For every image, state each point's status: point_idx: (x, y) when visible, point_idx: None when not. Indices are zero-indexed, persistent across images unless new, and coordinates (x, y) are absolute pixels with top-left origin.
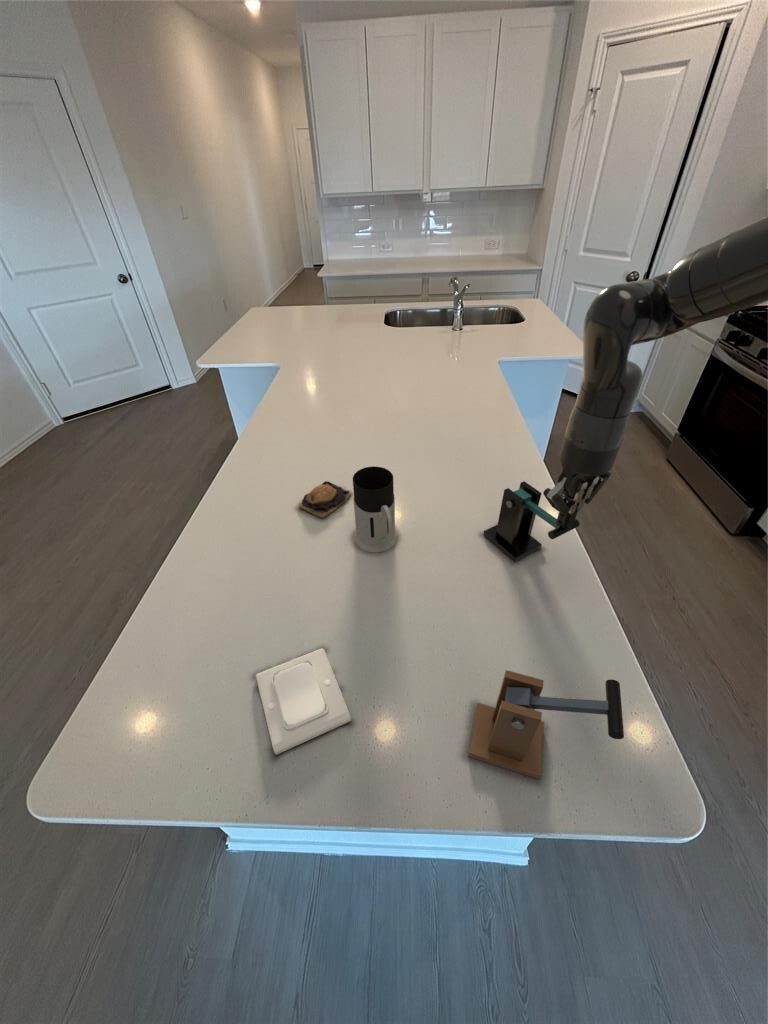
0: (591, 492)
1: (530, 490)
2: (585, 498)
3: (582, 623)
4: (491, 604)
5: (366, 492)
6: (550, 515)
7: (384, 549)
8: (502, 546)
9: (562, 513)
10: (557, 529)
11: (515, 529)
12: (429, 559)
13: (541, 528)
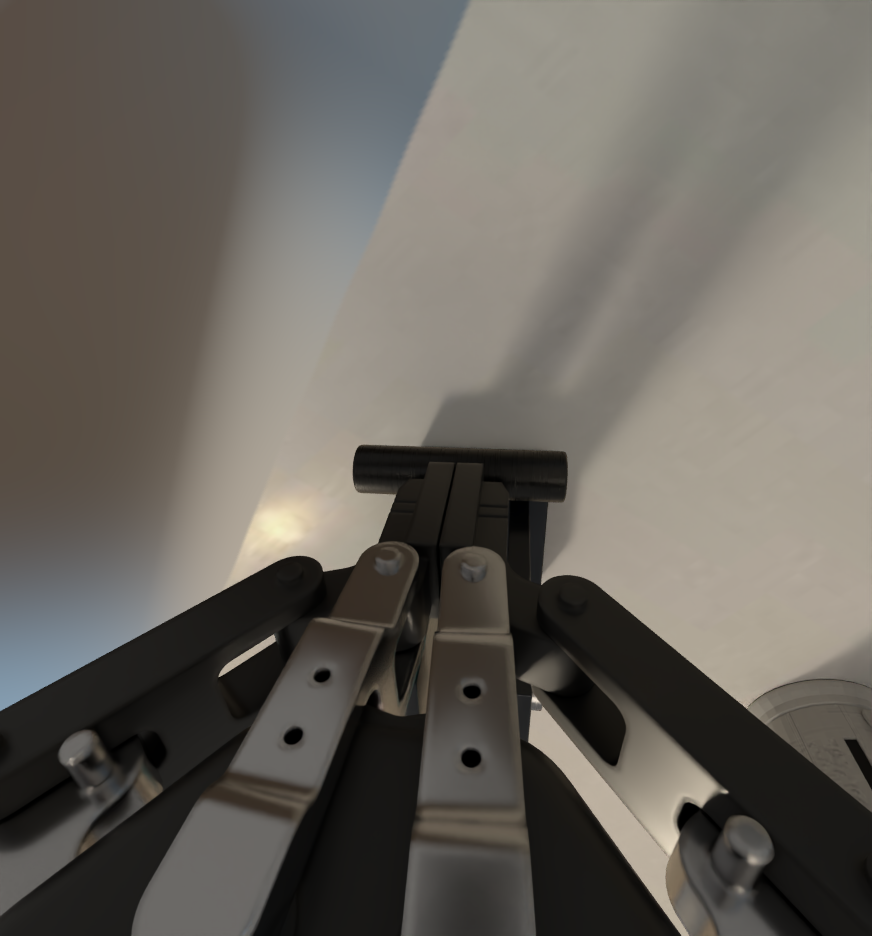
0: (283, 675)
1: (420, 710)
2: (371, 641)
3: (587, 58)
4: (797, 355)
5: None
6: None
7: (848, 686)
8: (544, 521)
9: (618, 604)
10: (519, 489)
11: (528, 564)
12: (770, 597)
13: (349, 505)
